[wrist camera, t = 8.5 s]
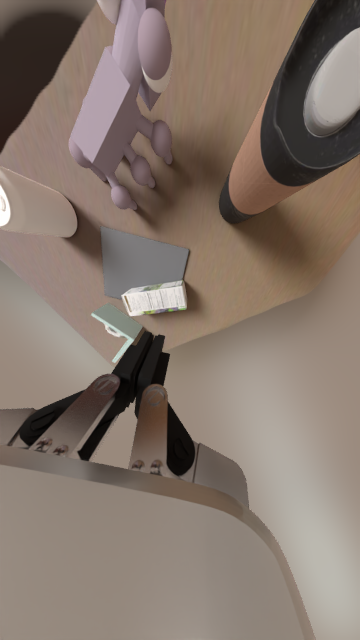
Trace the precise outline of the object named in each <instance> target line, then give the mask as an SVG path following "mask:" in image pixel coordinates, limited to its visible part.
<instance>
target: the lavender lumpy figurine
mask: <svg viewBox="0 0 360 640" xmlns="http://www.w3.org/2000/svg"><path fill="white" fill-rule="evenodd" d="M97 1H98V3H99V6H100V8H101V9H102V11H103V13H104V15H105V16H106V17H107V19H108V20H109V21H110V22H111V23H113V24H115V25H116V31H115V37H114V44H113V46H108V47H105V49H104V52H103V54H102V57H101V59H100V62H99V65H98V67H97V70H96V72H95V75H94V77H93V80H92V82H91V85H90V87H89V90H88V93H87V95H86V97H85V98H84V100H83V103H82V108H81V110H80V113H79V116H78V118H77V121H76V123H75V126H74V128H73V131H72V133H71V136H70V139H69V149H70V152H71V154H72V156H73V158H74V159H75V161H76V162H77V163H78V164H79V165H80V166H82V167H84V168H90V169H91V170H92V171H93V172H94V173H95V174H96V175H97V176H98V177H99V178H100V179H101V180H102V181H106V180H107V179H108V181H109V183H110V185H111V187H112V190H111V196H112V200H113V202H114V203H115V205H116V206H117V207H118V208H120V209H127V208H130V209H133V210H136V209H137V204H136V202H135V201H133V200H131V197H130V194H129V192H128V190H127V189H126V188H125V187H124V186H122V185H120V184H119V182H118V180H117V178H116V176H115V173H114V172H115V170H116V169H117V167H118V165H119V163H120V161H121V160H122V158H123V156H124V155H125V156H126V158H127V159H128V161H129V162H130V164H131V167H130V168H131V174H132V176H133V178H134V180H135V181H136V182H137V183H138V184H139V185H146V184H148V185H149V186H150V187H151V188H153V187H154V186H155V180H154V179H153V177H152V176H151V170H150V166H149V164H148V162H147V160H146V159H145V158H144V157H142V156H140V155H138V156H137V155H136V153H135V152H134V150H133V148H132V147H131V145H130V144H131V142H132V140H133V138H134V137H135V135H136V133H137V131H139V132H140V133H142V134H143V135H145V136H146V137H148V138H149V139H150V140H151V145H152V148H153V150H154V152H155V153H156V154H157V155H158V156H160V157H164V159H165V162H166V163H167V164H171V162H172V154H171V151H170V149H171V144H172V137H171V132H170V129H169V127H168V125H167V124H166V123H165V122H164V121H162V120H157V121H156V122H154V124H153V123H152V122H150V121H149V120H148V119H146V118H145V117H144V116H142V115H141V113H140V110H139V108H138V105H137V102H136V98H137V94H138V92H139V94H140V96H141V97H142V99H143V101H144V102H145V104H146V105H147V107H148V109H149V110H150V111H151V109H152V107H153V106H154V104H155V103H156V101H157V99H158V98H159V96H160V94H161V93H162V92H163V91H164V90H165V89H166V88H167V86H168V84H169V82H170V79H171V74H172V48H171V40H170V34H169V30H168V27H167V24H166V21H165V19H164V9H165V3H166V0H97Z"/></svg>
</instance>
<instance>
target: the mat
mask: <svg viewBox="0 0 360 640" xmlns="http://www.w3.org/2000/svg"><path fill="white" fill-rule="evenodd" d="M100 229H101V245H102V260H103V275H104V291H105V295H106V296H110V297H114V298H118V299H122V296H121V295H123V294H124V293H126V292H127V291H128V290H130V289H131V288H137V287H143V286H149V285H155V284H162V283H168V282H174V281H181V280H182V278H183V274H184V270H185V265H186V261H187V257H188V252H189V249H186V248H182V247H178V246H174V245H170V244H166V243H163V242H159V241H155V240H151V239H147V238H144V237H140V236H136V235H132V234H128V233H125V232H121V231H117V230H113V229H109V228H105V227H102V226H100ZM122 300H123V299H122ZM172 312H175V311H172Z"/></svg>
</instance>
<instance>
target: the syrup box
mask: <svg viewBox="0 0 360 640" xmlns="http://www.w3.org/2000/svg"><path fill="white" fill-rule="evenodd" d="M121 296H122V299H123V302H124V305H125V307H126V310H127V312H128V314H129V316H137V315H145V314H154V313H162V312H170V311H178V310H186V309H187V295H186V289H185V284H184V280H181V281H174V282H168V283H162V284H155V285H149V286H143V287H137V288H131V289H130V290H128V291H127V292H126V293H124V294H123V295H121Z"/></svg>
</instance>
